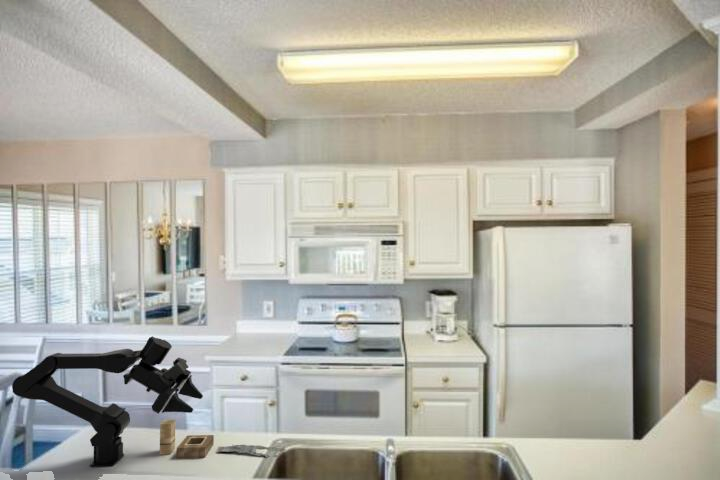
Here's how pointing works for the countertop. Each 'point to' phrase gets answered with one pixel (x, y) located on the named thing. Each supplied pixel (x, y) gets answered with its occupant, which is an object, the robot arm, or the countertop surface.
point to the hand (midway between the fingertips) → (197, 403)
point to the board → (195, 446)
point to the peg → (167, 436)
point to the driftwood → (250, 449)
